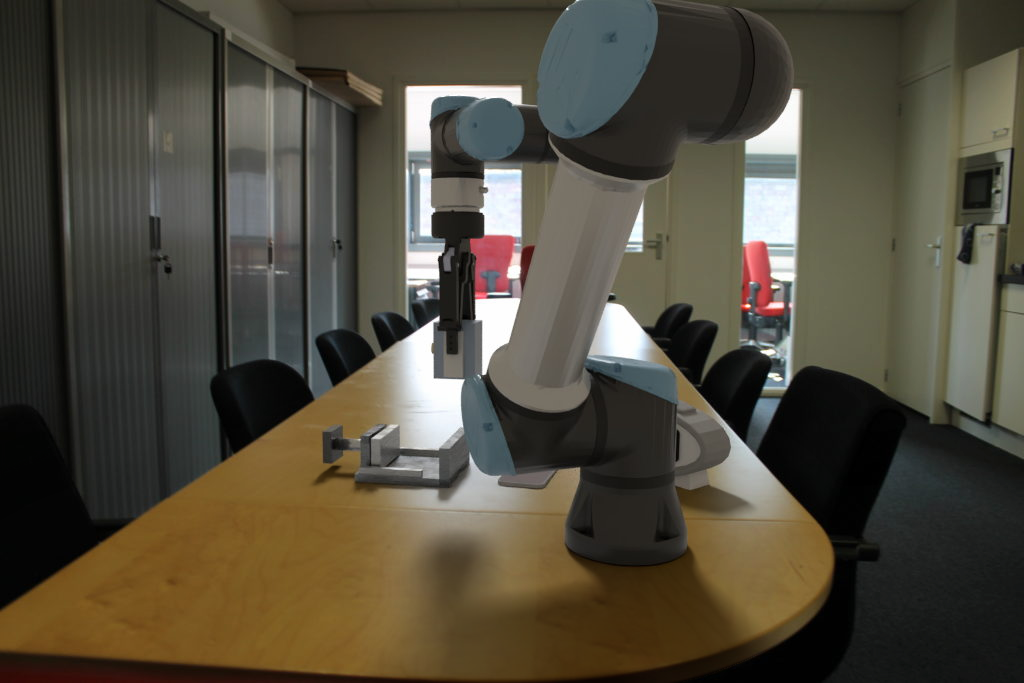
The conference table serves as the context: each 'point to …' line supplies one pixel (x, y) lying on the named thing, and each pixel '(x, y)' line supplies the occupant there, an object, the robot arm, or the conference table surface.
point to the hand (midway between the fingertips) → (458, 373)
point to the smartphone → (527, 479)
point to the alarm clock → (697, 446)
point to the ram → (382, 445)
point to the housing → (470, 349)
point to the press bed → (416, 462)
